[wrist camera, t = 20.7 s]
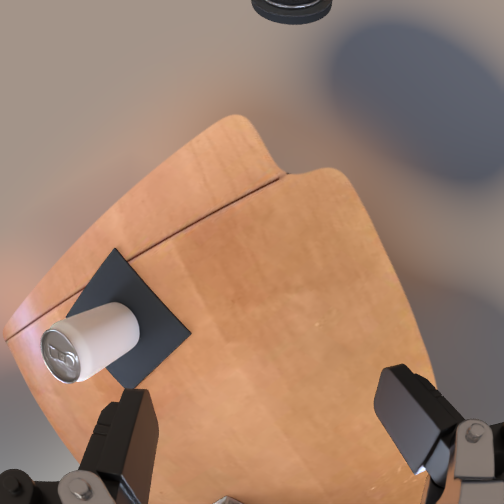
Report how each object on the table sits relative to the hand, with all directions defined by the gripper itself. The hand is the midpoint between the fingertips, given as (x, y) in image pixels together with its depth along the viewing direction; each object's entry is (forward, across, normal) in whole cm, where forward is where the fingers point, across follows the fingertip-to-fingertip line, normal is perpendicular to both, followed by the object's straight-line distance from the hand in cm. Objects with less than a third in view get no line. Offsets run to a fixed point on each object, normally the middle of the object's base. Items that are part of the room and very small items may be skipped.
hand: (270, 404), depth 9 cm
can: (+25, +15, +10) cm, 31 cm away
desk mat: (+26, +15, +10) cm, 31 cm away
